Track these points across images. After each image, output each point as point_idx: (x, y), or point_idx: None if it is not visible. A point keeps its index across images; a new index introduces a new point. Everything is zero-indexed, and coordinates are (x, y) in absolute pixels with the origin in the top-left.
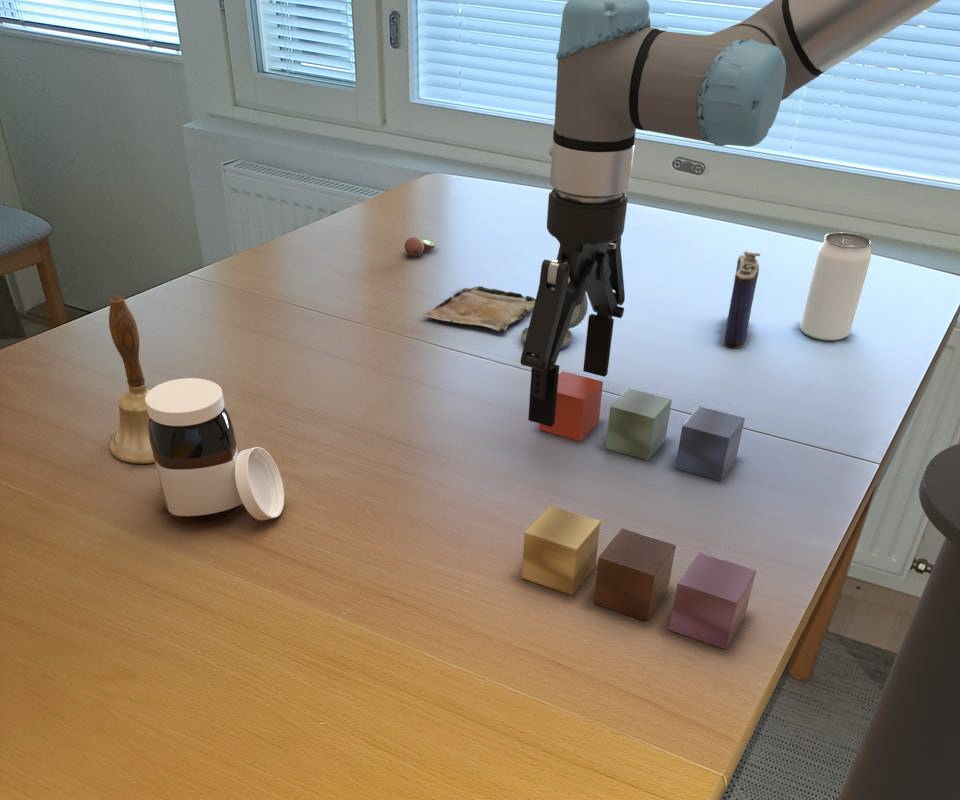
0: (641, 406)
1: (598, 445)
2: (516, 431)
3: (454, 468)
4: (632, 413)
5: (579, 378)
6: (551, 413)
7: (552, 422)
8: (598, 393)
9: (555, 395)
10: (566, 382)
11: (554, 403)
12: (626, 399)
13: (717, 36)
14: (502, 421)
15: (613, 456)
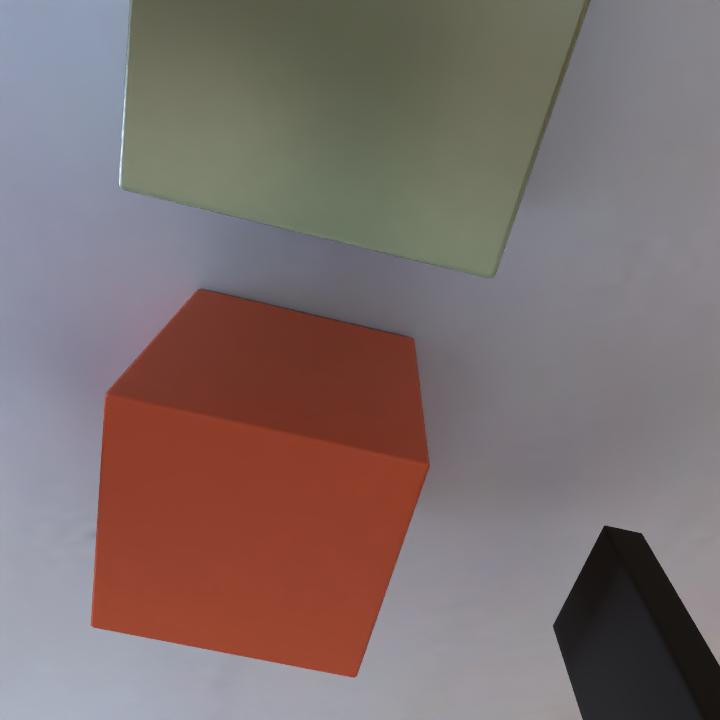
0: (424, 4)
1: None
2: (399, 575)
3: None
4: (564, 71)
5: (138, 533)
6: (675, 599)
7: (642, 547)
8: (193, 378)
9: (710, 693)
10: (230, 588)
11: (688, 642)
12: (333, 171)
13: None
14: None
15: None
